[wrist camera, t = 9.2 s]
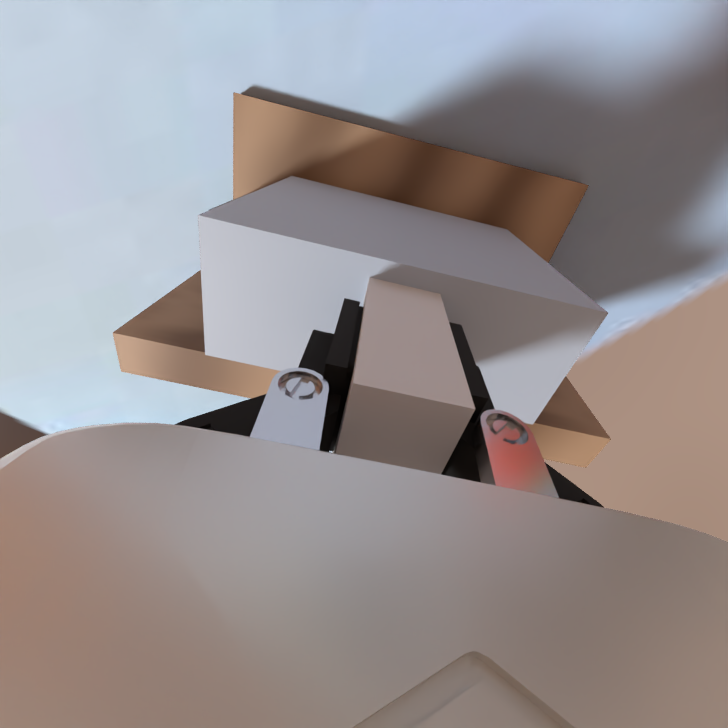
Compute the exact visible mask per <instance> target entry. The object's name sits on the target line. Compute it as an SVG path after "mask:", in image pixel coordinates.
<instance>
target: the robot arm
mask: <svg viewBox="0 0 728 728" xmlns="http://www.w3.org/2000/svg"><path fill="white" fill-rule="evenodd" d="M359 305H360V302H359V301H355V300H351V299H346V298H344V301H343V305H342V308H341V312H340V315H339V319H338V322H337V326H336V329H335V333H334V334H332V333H327V332H323V331H318V330H313V331H312V334H311V336H310V339H309V341H308V344H307V346H306V349H305V351H304V354H303V356H302V359H301V361H300V364H299V366H298V368H288V369H285V370H282V371H280V372H279V373H277V374H276V375H275V376H274V378H273V379H272V381H271V384H270V386H269V389H268V391H267V394H264V395H261V396H258V397H255V398H252V399H249V400H246V401H242V402H239V403H236V404H233V405H230V406H227V407H224V408H221V409H218V410H214V411H211V412H208V413H205V414H202V415H199V416H196V417H193V418H190V419H187V420H184V421H182V422H179V423H177V424H175V425H171V424H160V423H115V424H102V425H91V426H85V427H78V428H73V429H68V430H64V431H59V432H56V433H53V434H50V435H47V436H44V437H41V438H38V439H36V440H34V441H32V442H30V443H28V444H26V445H24V446H22V447H20V448H18V449H17V450H15V451H13V452H11V453H9V454H8V455H6V456H4V457H3V458H1V459H0V728H728V542H726V541H724V540H721V539H719V538H716V537H714V536H711V535H709V534H706V533H703V532H700V531H697V530H694V529H691V528H687V527H684V526H680V525H677V524H673V523H670V522H665V521H661V520H657V519H653V518H648V517H644V516H640V515H636V514H632V513H628V512H623V511H618V510H613V509H608V508H604V507H603V506H602V505H601V504H600V503H598V502H597V501H596V500H594V499H593V498H592V497H590V496H589V495H588V494H586V493H585V492H584V491H582V490H581V489H580V488H578V487H577V486H576V485H574V484H573V483H572V482H570V481H569V480H568V479H566V478H565V477H564V476H562V475H561V474H560V473H558V472H557V471H556V470H554V469H553V468H552V467H550V466H549V465H548V464H546V463H545V462H544V459H543V457H542V455H541V452H540V450H539V447H538V445H537V442H536V440H535V437H534V435H533V433H532V431H531V430H530V428H529V427H528V426H527V425H526V424H525V423H524V422H523V421H521V420H520V419H519V418H517V417H516V416H514V415H512V414H510V413H508V412H505V411H502V410H495V408H494V406H493V403H492V400H491V398H490V395H489V392H488V390H487V387H486V384H485V382H484V379H483V376H482V374H481V371H480V368H479V367H478V366H476V363H475V361H474V358H473V355H472V352H471V350H470V347H469V344H468V341H467V339H466V336H465V333H464V330H463V328H462V325H460V324H456V323H451V322H449V324H450V327H451V331H452V334H453V337H454V340H455V344H456V347H457V350H458V354H459V357H460V360H461V363H462V367H463V370H464V373H465V377H466V380H467V383H468V387H469V390H470V393H471V396H472V400H473V403H474V406H475V411H474V413H473V415H472V417H471V418H470V420H469V422H468V424H467V426H466V428H465V430H464V432H463V434H462V435H461V437H460V439H459V441H458V443H457V445H456V447H455V449H454V451H453V452H452V454H451V456H450V458H449V460H448V462H447V464H446V466H445V468H444V469H443V471H442V473H441V475H440V474H435V473H430V472H425V471H420V470H415V469H410V468H405V467H400V466H395V465H390V464H385V463H380V462H375V461H370V460H365V459H360V458H355V457H350V456H345V455H340V454H335V453H330V452H329V451H334V448H335V444H336V440H337V436H338V432H339V428H340V424H341V420H342V416H343V412H344V408H345V403H346V399H347V395H348V391H349V387H350V383H351V379H352V374H353V370H354V364H355V358H356V352H357V346H358V340H359V334H360V327H361V321H362V315H363V309H364V307H362V306H359Z"/></svg>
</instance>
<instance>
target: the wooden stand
mask: <svg viewBox="0 0 728 728" xmlns="http://www.w3.org/2000/svg"><path fill="white" fill-rule="evenodd" d="M291 176H295V177H299V178H303V179H307V180H311V181H315V182H319V183H323V184H327V185H331V186H335V187H339V188H343V189H347V190H351V191H355V192H359V193H363V194H367V195H371V196H375V197H379V198H383V199H387V200H391V201H395V202H399V203H403V204H407V205H411V206H415V207H419V208H423V209H427V210H431V211H435V212H439V213H443V214H447V215H451V216H455V217H459V218H463V219H467V220H471V221H475V222H479V223H483V224H488V225H492V226H496V227H500V228H504V229H507V230H509V231H510V232H511V233H512V234H513V235H515V236H516V237H517V238H518V239H520V240H521V241H522V242H523V243H524V244H526V245H527V246H528V247H529V248H530V249H532V250H533V251H534V252H535V253H536V254H538V255H539V256H540V257H541V258H543V259H544V260H545V261H546V262H547V263H549V261H550V259H551V257H552V255H553V253H554V251H555V249H556V247H557V245H558V243H559V242H560V240H561V238H562V236H563V234H564V232H565V230H566V228H567V226H568V224H569V222H570V220H571V219H572V217H573V215H574V213H575V211H576V209H577V207H578V205H579V203H580V201H581V199H582V198H583V196H584V194H585V192H586V190H587V188H588V186H589V185H586V184H582V183H578V182H574V181H571V180H567V179H563V178H559V177H555V176H551V175H548V174H544V173H540V172H536V171H532V170H529V169H525V168H521V167H517V166H513V165H509V164H506V163H502V162H498V161H494V160H490V159H486V158H483V157H479V156H475V155H471V154H467V153H464V152H460V151H456V150H452V149H448V148H444V147H441V146H437V145H433V144H429V143H425V142H422V141H418V140H414V139H410V138H406V137H402V136H399V135H395V134H391V133H387V132H383V131H379V130H376V129H372V128H368V127H364V126H360V125H357V124H353V123H349V122H345V121H341V120H337V119H334V118H330V117H326V116H322V115H318V114H314V113H311V112H307V111H303V110H299V109H295V108H292V107H288V106H284V105H280V104H276V103H272V102H269V101H265V100H261V99H257V98H253V97H250V96H246V95H242V94H238V93H234V108H233V200H236V199H238V198H240V197H243V196H245V195H248V194H250V193H252V192H255V191H257V190H259V189H262V188H264V187H267V186H269V185H271V184H274V183H276V182H279V181H281V180H283V179H286V178H288V177H291ZM233 200H231V201H233ZM231 201H229V202H231ZM227 203H228V202H227ZM224 204H226V203H224ZM224 204H222V205H224ZM219 206H221V205H219ZM219 206H217V207H219ZM215 208H216V207H215ZM212 209H214V208H212ZM212 209H210V210H212ZM113 336H114V341H115V345H116V350H117V354H118V359H119V363H120V368H121V371H122V372H127V373H131V374H136V375H141V376H146V377H151V378H156V379H160V380H165V381H170V382H175V383H180V384H184V385H189V386H194V387H199V388H204V389H209V390H213V391H218V392H223V393H228V394H233V395H238V396H242V397H247V398H255V397H258V396H261V395H264V394H267V391H268V389H269V386H270V384H271V381H272V379H273V378H274V376H275V375H276V374H277V373H279V372H280V371H279V370H274V369H269V368H264V367H260V366H255V365H250V364H246V363H241V362H236V361H232V360H227V359H222V358H218V357H213V356H208V355H205V342H204V322H203V303H202V284H201V270H200V271H199V272H197V273H196V274H194V275H193V276H192V277H190V278H189V279H187V280H186V281H185V282H183V283H182V284H180V285H179V286H178V287H176V288H175V289H173V290H172V291H171V292H169V293H168V294H166V295H165V296H164V297H162V298H161V299H159V300H158V301H157V302H155V303H154V304H152V305H151V306H150V307H148V308H147V309H145V310H144V311H142V312H141V313H140V314H138V315H137V316H135V317H134V318H133V319H131V320H130V321H128V322H127V323H126V324H124V325H123V326H121V327H120V328H119V329H117V330H116V331H114V332H113ZM525 424H526V425H527V426H528V427H529V428H530V430H531V431H532V433H533V435H534V437H535V440H536V442H537V445H538V447H539V450H540V452H541V455H542V457H543V459H546V460H551V461H556V462H561V463H566V464H571V465H575V466H580V467H585V468H586V467H587V466H588V465H589V464H590V462H591V461H592V460H593V459H594V458H595V457H596V456H597V455H598V453H599V452H600V451H601V450H602V449H603V448H604V447H605V445H606V444H607V443H608V442H609V441H610V440H611V439H610V437H609V436H608V435H607V433H606V432H605V430H604V429H603V427H602V426H601V425H600V423H599V422H598V420H597V419H596V418H595V416H594V415H593V414H592V412H591V411H590V409H589V408H588V407H587V405H586V404H585V402H584V401H583V399H582V398H581V397H580V395H579V394H578V392H577V391H576V390H575V388H574V387H573V386H572V384H571V383H570V381H569V380H568V379H567V377H566V376H565V378H564V379H563V381H562V382H561V384H560V385H559V387H558V388H557V390H556V391H555V393H554V394H553V396H552V397H551V398H550V400H549V401H548V403H547V404H546V406H545V407H544V409H543V410H542V412H541V413H540V415H539V416H538V418H537V419H536V421H535V422H534V424H533V425H532V424H527V423H525Z"/></svg>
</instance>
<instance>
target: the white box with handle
mask: <svg viewBox="0 0 728 728" xmlns="http://www.w3.org/2000/svg"><path fill="white" fill-rule="evenodd" d="M198 226H199V245H200V264H201V284H202V303H203V322H204V342H205V355H208V356H213V357H218V358H222V359H227V360H232V361H236V362H241V363H246V364H250V365H255V366H260V367H264V368H269V369H274V370H279V371H282V370H285V369H288V368H298V366H299V364H300V361H301V359H302V356H303V354H304V351H305V349H306V346H307V344H308V341H309V339H310V336H311V334H312V331H313V330H318V331H323V332H327V333H332V334H334V333H335V329H336V326H337V322H338V319H339V315H340V312H341V308H342V305H343V301H344V298H346V299H351V300H355V301H359V302H360V305H359V306H362V307H364V309H363V315H362V321H361V327H360V334H359V340H358V346H357V352H356V358H355V364H354V370H353V374H352V379H351V383H350V387H349V391H348V395H347V399H346V403H345V408H344V412H343V416H342V420H341V424H340V428H339V432H338V436H337V440H336V444H335V448H334V451H333V453H335V454H340V455H345V456H350V457H355V458H360V459H365V460H370V461H375V462H380V463H385V464H390V465H395V466H400V467H405V468H410V469H415V470H420V471H425V472H430V473H435V474H440V475H441V473H442V471H443V469H444V468H445V466H446V464H447V462H448V460H449V458H450V456H451V454H452V452H453V451H454V449H455V447H456V445H457V443H458V441H459V439H460V437H461V435H462V434H463V432H464V430H465V428H466V426H467V424H468V422H469V420H470V418H471V417H472V415H473V413H474V411H475V406H474V403H473V400H472V396H471V393H470V390H469V387H468V383H467V380H466V377H465V373H464V370H463V367H462V363H461V360H460V357H459V354H458V350H457V347H456V344H455V340H454V337H453V334H452V331H451V327H450V324H449V322H451V323H456V324H460V325H462V328H463V330H464V333H465V336H466V339H467V341H468V344H469V347H470V350H471V352H472V355H473V358H474V361H475V363H476V366H478V367H479V368H480V371H481V374H482V376H483V379H484V382H485V384H486V387H487V390H488V392H489V395H490V398H491V400H492V403H493V406H494V408H495V410H502V411H505V412H508V413H510V414H512V415H514V416H516V417H517V418H519V419H520V420H521V421H523V422H524V423H527V424H532V425H533V424H534V422H535V421H536V419H537V418H538V416H539V415H540V413H541V412H542V410H543V409H544V407H545V406H546V404H547V403H548V401H549V400H550V398H551V397H552V396H553V394H554V393H555V391H556V390H557V388H558V387H559V385H560V384H561V382H562V381H563V379H564V378H565V376H566V375H567V373H568V372H569V370H570V369H571V367H572V366H573V364H574V363H575V362H576V360H577V359H578V357H579V356H580V354H581V353H582V351H583V350H584V348H585V347H586V345H587V344H588V342H589V341H590V339H591V338H592V336H593V335H594V333H595V332H596V330H597V329H598V328H599V326H600V325H601V323H602V322H603V320H604V319H605V317H606V316H607V314H608V312H607V311H606V310H604V309H603V308H602V307H601V306H599V305H598V304H597V303H596V302H595V301H593V300H592V299H591V298H590V297H589V296H587V295H586V294H585V293H584V292H583V291H581V290H580V289H579V288H578V287H576V286H575V285H574V284H573V283H572V282H570V281H569V280H568V279H567V278H566V277H564V276H563V275H562V274H561V273H559V272H558V271H557V270H556V269H555V268H553V267H552V266H551V265H550V264H549V263H547V262H546V261H545V260H544V259H543V258H541V257H540V256H539V255H538V254H536V253H535V252H534V251H533V250H532V249H530V248H529V247H528V246H527V245H526V244H524V243H523V242H522V241H521V240H520V239H518V238H517V237H516V236H515V235H513V234H512V233H511V232H510V231H509V230H507V229H504V228H500V227H496V226H492V225H488V224H483V223H479V222H475V221H471V220H467V219H463V218H459V217H455V216H451V215H447V214H443V213H439V212H435V211H431V210H427V209H423V208H419V207H415V206H411V205H407V204H403V203H399V202H395V201H391V200H387V199H383V198H379V197H375V196H371V195H367V194H363V193H359V192H355V191H351V190H347V189H343V188H339V187H335V186H331V185H327V184H323V183H319V182H315V181H311V180H307V179H303V178H299V177H295V176H291V177H288V178H286V179H283V180H281V181H279V182H276V183H274V184H271V185H269V186H267V187H264V188H262V189H259V190H257V191H255V192H252V193H250V194H248V195H245V196H243V197H240V198H238V199H236V200H233V201H231V202H228V203H226V204H224V205H221V206H219V207H216V208H214V209H212V210H209V211H207V212H205V213H202V214H200V215H198Z"/></svg>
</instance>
